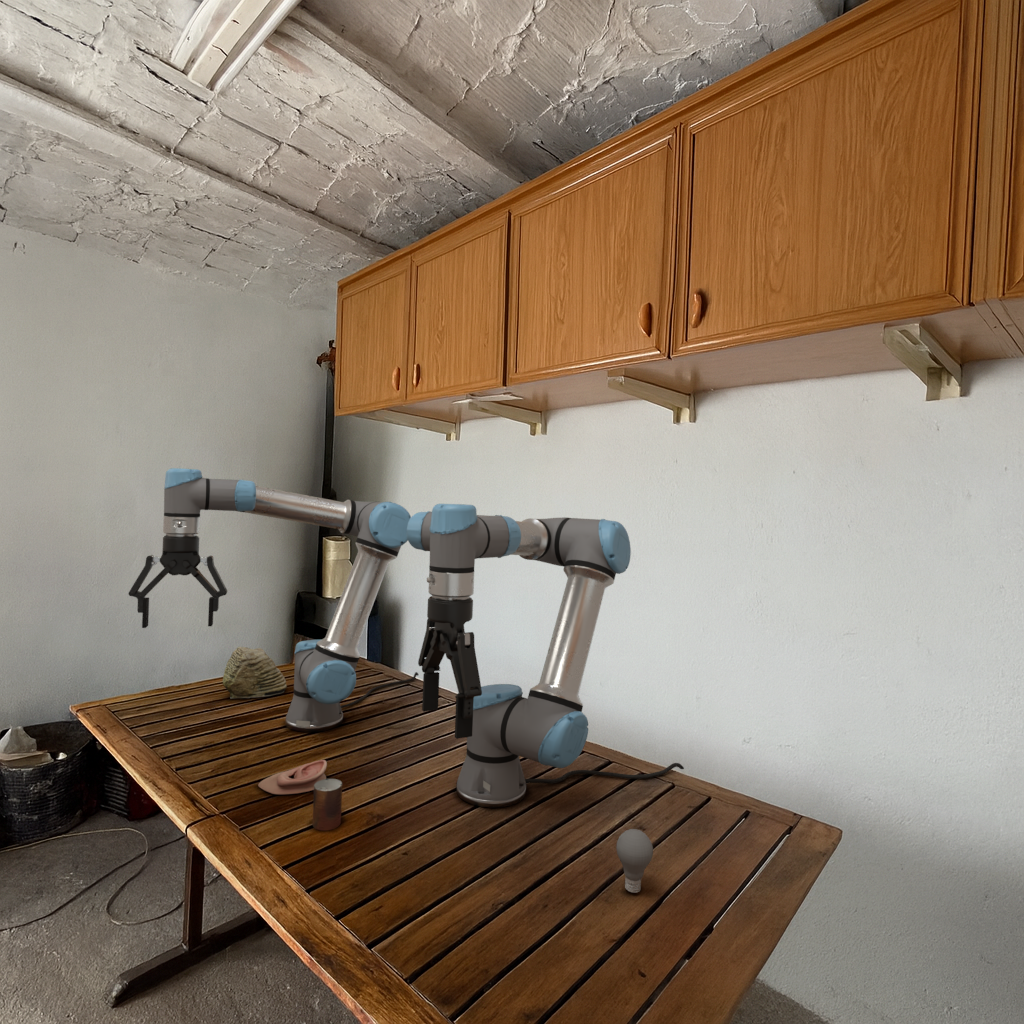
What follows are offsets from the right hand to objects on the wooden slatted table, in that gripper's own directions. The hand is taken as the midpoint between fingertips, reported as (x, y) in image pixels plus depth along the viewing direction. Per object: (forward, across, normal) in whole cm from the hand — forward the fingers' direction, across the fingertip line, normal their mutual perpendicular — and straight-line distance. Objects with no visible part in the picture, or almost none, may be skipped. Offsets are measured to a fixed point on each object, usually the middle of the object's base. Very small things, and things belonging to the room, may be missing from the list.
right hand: (445, 722), depth 106 cm
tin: (+27, -26, -12) cm, 39 cm away
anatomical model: (+27, -46, -15) cm, 55 cm away
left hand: (-5, -70, -37) cm, 79 cm away
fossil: (+27, -114, -14) cm, 118 cm away
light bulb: (+27, +17, +28) cm, 42 cm away
